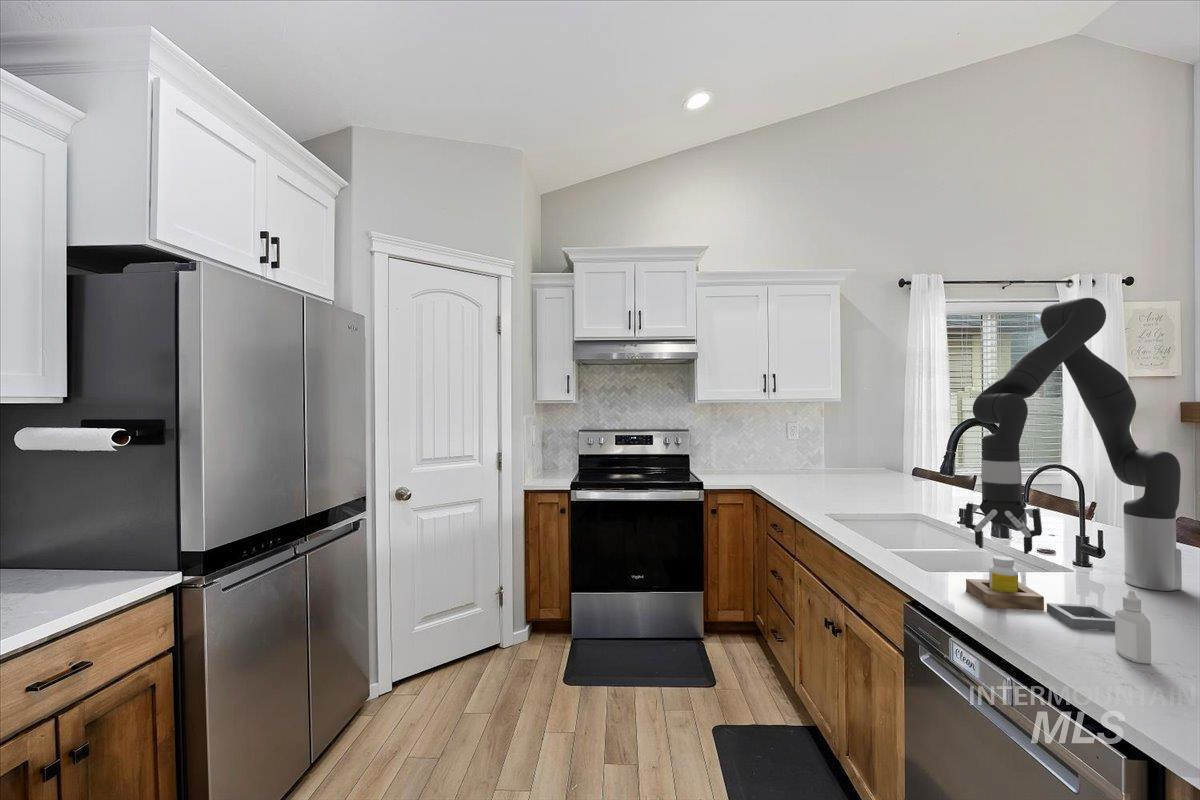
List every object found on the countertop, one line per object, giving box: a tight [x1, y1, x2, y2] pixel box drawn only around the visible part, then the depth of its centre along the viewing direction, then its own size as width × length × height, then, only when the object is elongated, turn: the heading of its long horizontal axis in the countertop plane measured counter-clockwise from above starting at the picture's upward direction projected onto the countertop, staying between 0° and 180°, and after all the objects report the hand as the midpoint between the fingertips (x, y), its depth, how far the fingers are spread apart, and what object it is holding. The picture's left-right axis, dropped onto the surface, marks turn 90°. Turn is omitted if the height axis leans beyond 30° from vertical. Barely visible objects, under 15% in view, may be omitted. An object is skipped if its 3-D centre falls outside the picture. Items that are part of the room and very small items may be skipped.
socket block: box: [965, 578, 1045, 612], centre depth 130 cm, size 11×11×3 cm
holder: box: [1046, 602, 1115, 632], centre depth 117 cm, size 9×9×2 cm
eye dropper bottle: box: [1114, 589, 1152, 665], centre depth 101 cm, size 4×6×12 cm
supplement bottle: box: [988, 555, 1019, 592], centre depth 130 cm, size 5×5×10 cm
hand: (1003, 550), depth 130 cm, fingers open, 8 cm apart
